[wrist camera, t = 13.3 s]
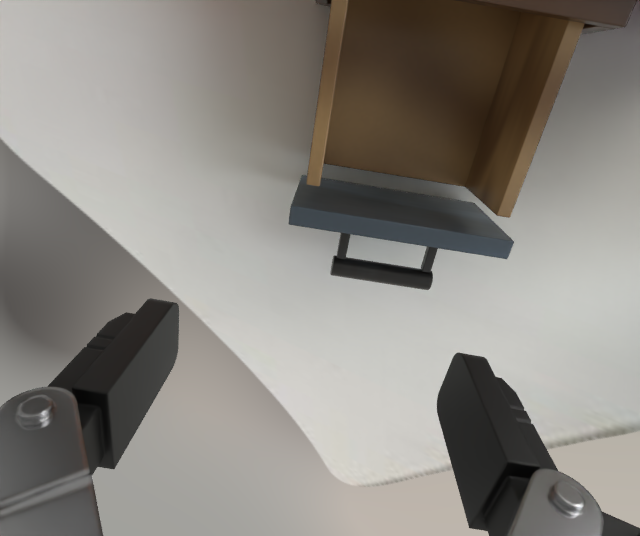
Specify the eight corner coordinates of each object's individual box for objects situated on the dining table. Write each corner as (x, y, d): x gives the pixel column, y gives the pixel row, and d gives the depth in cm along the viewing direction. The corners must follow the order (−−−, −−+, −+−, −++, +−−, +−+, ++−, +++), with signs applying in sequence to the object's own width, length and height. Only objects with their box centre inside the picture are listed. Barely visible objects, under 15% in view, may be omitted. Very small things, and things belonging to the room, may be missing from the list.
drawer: (453, 266, 33) (483, 318, 26) (293, 240, 33) (280, 286, 26) (543, -3, 25) (625, -33, 18) (330, -42, 24) (327, -87, 17)
